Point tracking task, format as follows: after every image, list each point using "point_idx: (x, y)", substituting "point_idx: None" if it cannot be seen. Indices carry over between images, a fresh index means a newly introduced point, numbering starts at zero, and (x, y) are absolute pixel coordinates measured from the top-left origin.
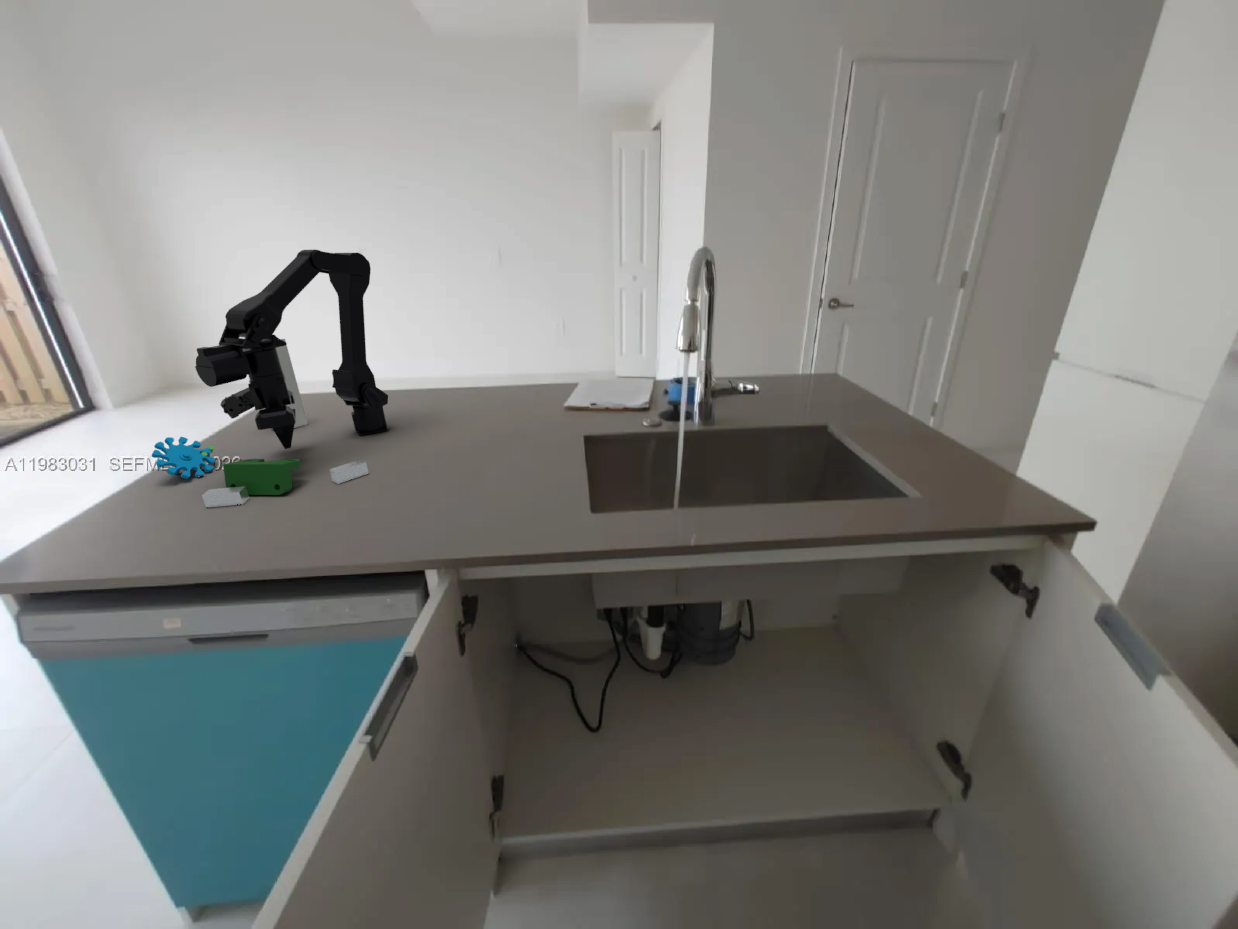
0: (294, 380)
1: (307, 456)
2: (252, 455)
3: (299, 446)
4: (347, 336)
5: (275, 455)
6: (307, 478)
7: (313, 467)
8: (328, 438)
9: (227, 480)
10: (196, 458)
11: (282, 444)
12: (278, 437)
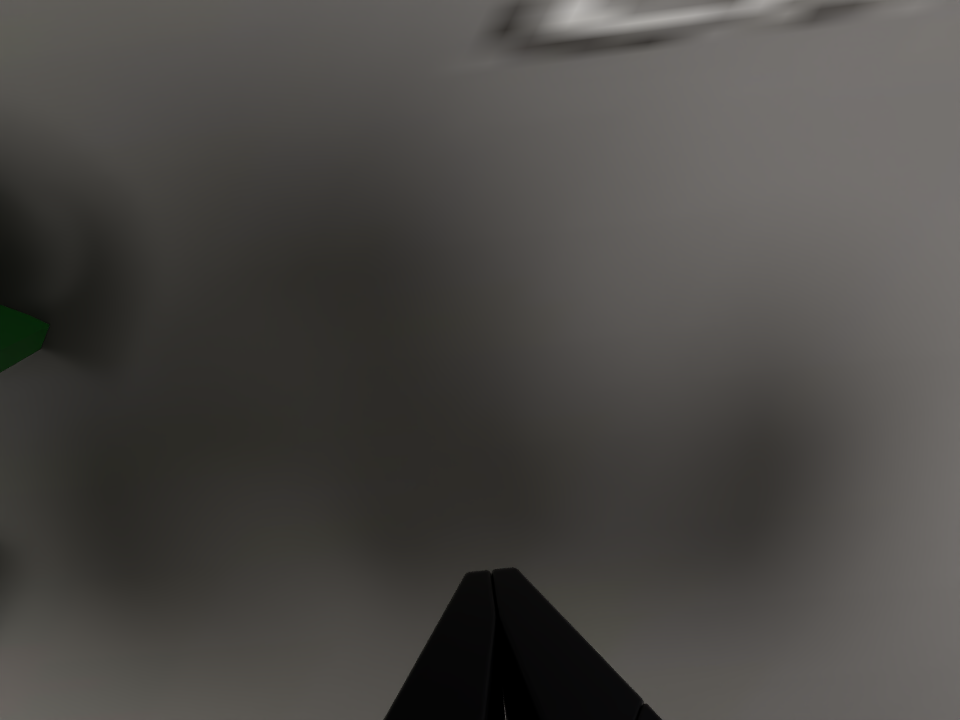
0: None
1: (562, 600)
2: (904, 117)
3: (874, 516)
4: None
5: (757, 341)
6: (13, 647)
7: (260, 665)
8: (923, 707)
9: None
10: None
11: (444, 611)
12: (394, 710)
